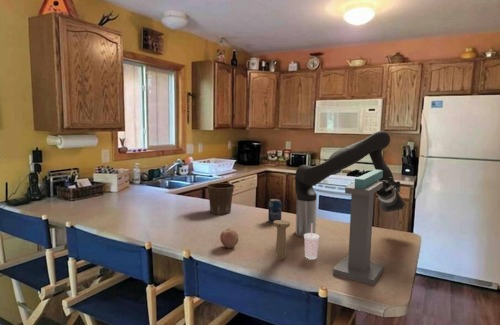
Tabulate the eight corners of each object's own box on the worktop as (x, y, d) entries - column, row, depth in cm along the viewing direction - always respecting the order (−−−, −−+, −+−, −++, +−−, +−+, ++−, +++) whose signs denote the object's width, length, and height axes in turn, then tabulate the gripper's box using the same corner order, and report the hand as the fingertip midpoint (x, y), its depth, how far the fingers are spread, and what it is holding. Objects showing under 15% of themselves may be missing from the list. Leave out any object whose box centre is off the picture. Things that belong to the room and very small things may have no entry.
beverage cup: (300, 257, 132) (301, 223, 130) (306, 252, 137) (307, 220, 135) (315, 261, 129) (316, 226, 127) (320, 256, 134) (322, 222, 132)
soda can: (270, 224, 174) (271, 201, 173) (266, 220, 181) (266, 198, 179) (283, 223, 176) (283, 201, 175) (278, 219, 183) (278, 197, 181)
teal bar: (363, 188, 111) (363, 179, 110) (354, 187, 112) (354, 178, 112) (382, 177, 132) (382, 170, 132) (374, 176, 134) (375, 169, 133)
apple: (229, 242, 148) (229, 225, 147) (242, 246, 143) (242, 228, 142) (216, 247, 142) (216, 229, 141) (229, 252, 137) (229, 233, 136)
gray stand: (373, 285, 110) (378, 191, 106) (332, 274, 118) (336, 186, 114) (386, 266, 125) (391, 183, 121) (349, 257, 133) (353, 178, 129)
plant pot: (233, 208, 205) (233, 182, 203) (235, 215, 189) (235, 187, 187) (207, 208, 203) (206, 182, 201) (207, 216, 187) (206, 188, 185)
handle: (275, 255, 134) (275, 219, 132) (290, 257, 132) (291, 221, 130) (271, 259, 130) (271, 222, 128) (286, 262, 127) (287, 225, 125)
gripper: (370, 182, 151) (362, 168, 138) (404, 186, 143) (399, 171, 130) (367, 197, 149) (359, 184, 136) (401, 202, 141) (396, 189, 128)
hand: (378, 178), depth 133 cm, fingers open, 8 cm apart
